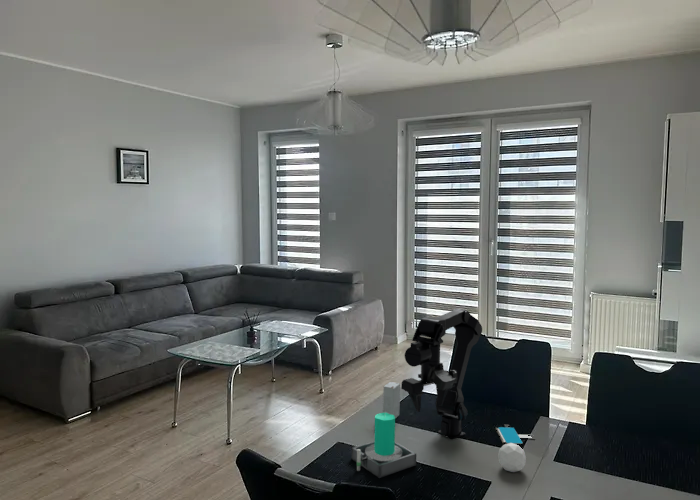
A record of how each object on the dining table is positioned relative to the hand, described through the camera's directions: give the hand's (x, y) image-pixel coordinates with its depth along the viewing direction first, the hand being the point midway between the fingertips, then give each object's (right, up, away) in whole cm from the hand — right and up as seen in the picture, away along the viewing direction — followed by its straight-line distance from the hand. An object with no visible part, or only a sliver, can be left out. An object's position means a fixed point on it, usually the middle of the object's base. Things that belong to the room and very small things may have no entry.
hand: (429, 408), depth 166 cm
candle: (-14, -10, -8) cm, 19 cm away
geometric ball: (+22, -14, -12) cm, 29 cm away
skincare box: (-10, -11, +26) cm, 30 cm away
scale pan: (-16, -11, -9) cm, 21 cm away
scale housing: (-16, -14, -8) cm, 23 cm away
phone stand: (+30, -13, +11) cm, 34 cm away
